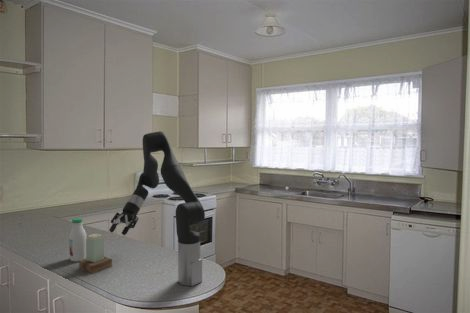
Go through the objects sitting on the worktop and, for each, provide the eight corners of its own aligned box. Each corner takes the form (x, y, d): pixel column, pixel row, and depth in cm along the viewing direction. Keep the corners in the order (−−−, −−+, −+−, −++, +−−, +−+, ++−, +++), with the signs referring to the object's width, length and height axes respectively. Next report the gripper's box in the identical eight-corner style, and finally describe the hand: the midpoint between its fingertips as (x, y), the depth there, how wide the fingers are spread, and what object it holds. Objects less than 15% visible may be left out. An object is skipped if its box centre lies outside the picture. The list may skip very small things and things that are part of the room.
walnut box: (111, 267, 163) (111, 259, 162) (92, 274, 155) (91, 265, 154) (98, 262, 168) (98, 254, 168) (79, 269, 160) (79, 260, 160)
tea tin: (104, 258, 163) (103, 234, 162) (94, 262, 158) (94, 237, 157) (95, 256, 165) (95, 233, 165) (86, 260, 160) (85, 236, 160)
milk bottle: (89, 256, 176) (88, 216, 174) (83, 261, 168) (82, 220, 166) (74, 256, 176) (72, 216, 174) (67, 262, 168) (65, 221, 166)
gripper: (119, 200, 182) (102, 227, 173) (140, 202, 175) (123, 231, 166) (127, 208, 187) (111, 234, 178) (147, 211, 180) (131, 239, 171)
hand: (116, 233), depth 172 cm, fingers open, 8 cm apart
